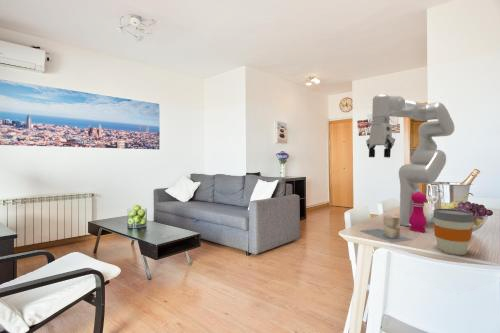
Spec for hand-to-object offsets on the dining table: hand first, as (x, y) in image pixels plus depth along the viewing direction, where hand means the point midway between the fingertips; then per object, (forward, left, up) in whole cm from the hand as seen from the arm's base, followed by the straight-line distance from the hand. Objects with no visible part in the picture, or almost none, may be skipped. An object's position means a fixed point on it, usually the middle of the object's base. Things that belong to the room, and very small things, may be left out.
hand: (379, 157), depth 136 cm
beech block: (+5, +13, -35) cm, 37 cm away
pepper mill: (-17, +8, -35) cm, 40 cm away
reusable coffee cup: (-4, +33, -35) cm, 48 cm away
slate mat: (+5, +9, -35) cm, 37 cm away
